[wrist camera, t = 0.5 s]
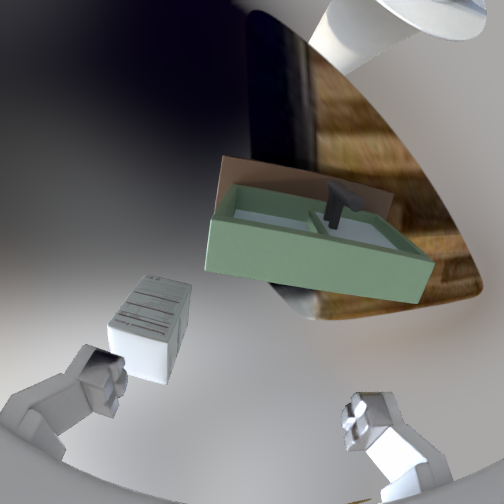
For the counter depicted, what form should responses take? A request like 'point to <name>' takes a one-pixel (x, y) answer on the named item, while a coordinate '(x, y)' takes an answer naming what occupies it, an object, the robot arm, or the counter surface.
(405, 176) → the counter surface
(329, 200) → the sliding pane
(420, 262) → the window frame
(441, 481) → the robot arm
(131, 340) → the white packaging box
